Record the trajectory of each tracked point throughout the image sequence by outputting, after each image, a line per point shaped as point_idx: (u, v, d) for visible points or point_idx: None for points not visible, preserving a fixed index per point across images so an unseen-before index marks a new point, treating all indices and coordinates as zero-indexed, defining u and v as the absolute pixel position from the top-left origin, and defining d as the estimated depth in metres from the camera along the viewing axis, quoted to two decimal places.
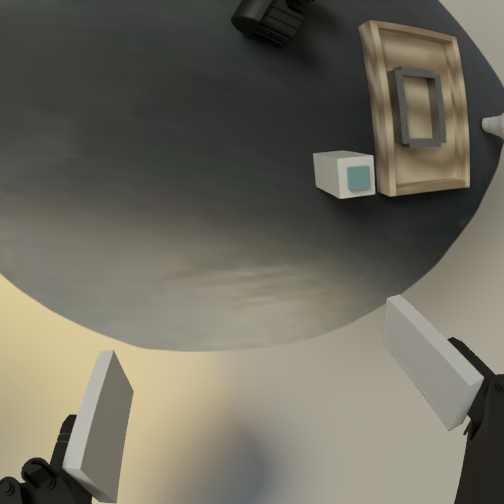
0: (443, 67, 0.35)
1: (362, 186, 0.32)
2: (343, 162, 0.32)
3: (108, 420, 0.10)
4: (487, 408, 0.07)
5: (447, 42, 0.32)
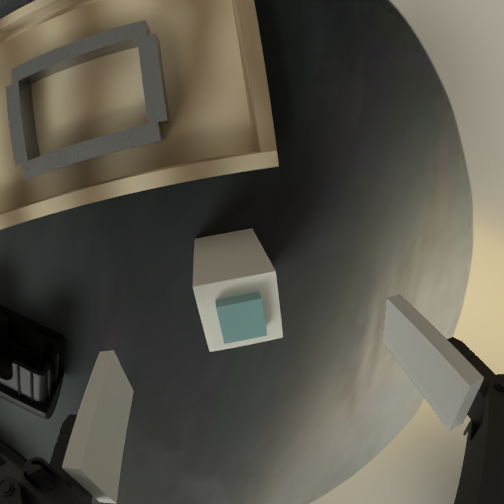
0: (6, 49, 0.15)
1: (259, 315, 0.17)
2: (215, 341, 0.18)
3: (108, 420, 0.10)
4: (487, 408, 0.07)
5: None
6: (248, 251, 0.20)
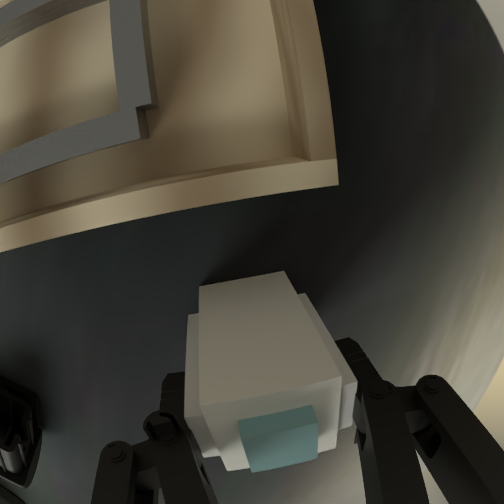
0: None
1: (310, 440, 0.09)
2: (236, 461, 0.10)
3: None
4: (367, 420, 0.08)
5: None
6: (286, 323, 0.12)
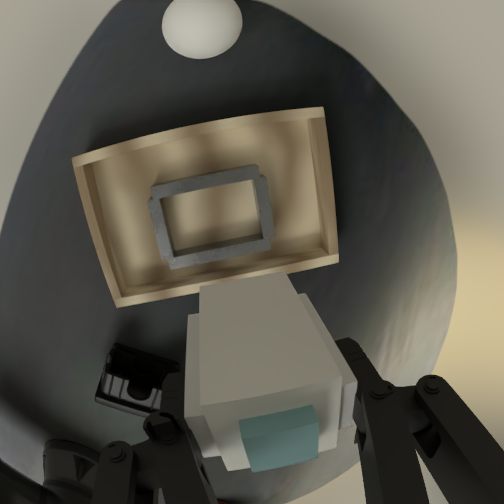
0: (130, 160, 0.29)
1: (311, 440, 0.09)
2: (236, 461, 0.10)
3: None
4: (367, 420, 0.08)
5: (87, 167, 0.27)
6: (287, 324, 0.12)
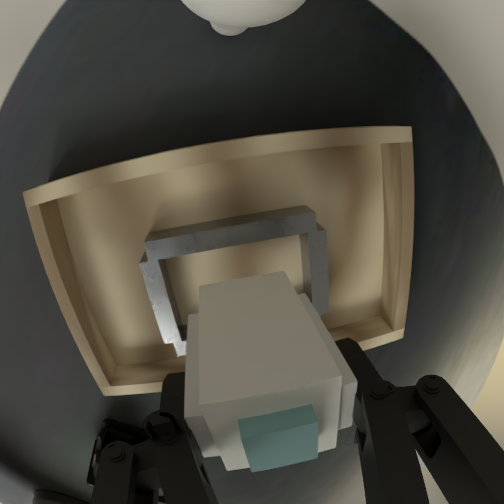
0: (112, 194, 0.18)
1: (310, 439, 0.09)
2: (236, 461, 0.10)
3: None
4: (367, 420, 0.08)
5: (47, 206, 0.16)
6: (286, 323, 0.12)
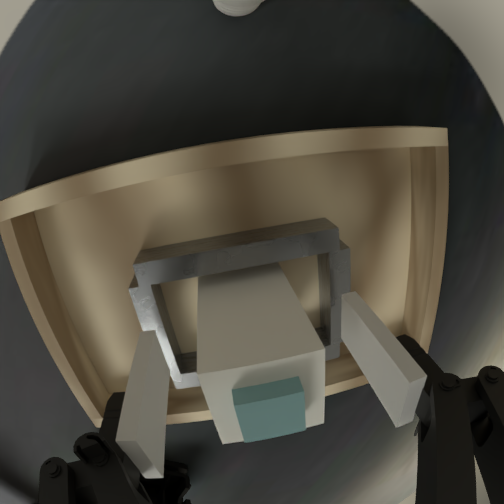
0: (96, 204, 0.15)
1: (298, 410, 0.10)
2: (230, 433, 0.11)
3: (154, 395, 0.12)
4: (433, 410, 0.08)
5: (21, 219, 0.13)
6: (276, 305, 0.13)
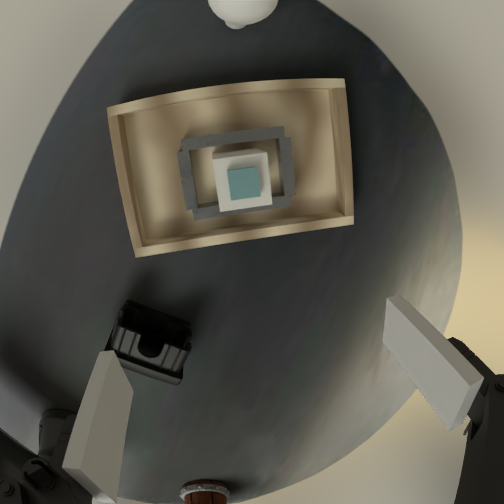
0: (162, 115, 0.30)
1: (255, 179, 0.25)
2: (224, 203, 0.26)
3: (108, 420, 0.10)
4: (487, 408, 0.07)
5: (120, 118, 0.28)
6: (249, 151, 0.28)
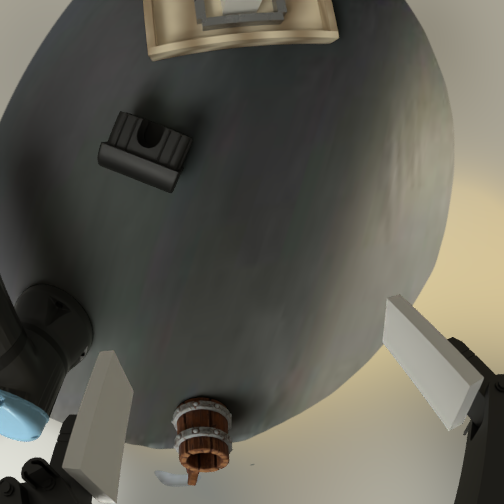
0: None
1: None
2: None
3: (108, 420, 0.10)
4: (487, 408, 0.07)
5: None
6: None
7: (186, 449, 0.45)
